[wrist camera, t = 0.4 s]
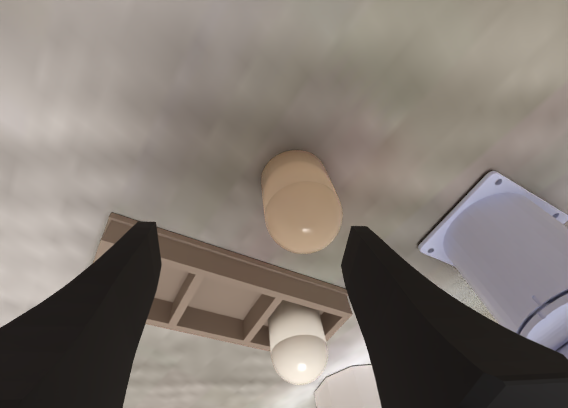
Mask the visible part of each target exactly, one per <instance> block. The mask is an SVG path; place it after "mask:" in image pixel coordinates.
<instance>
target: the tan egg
mask: <svg viewBox="0 0 568 408" xmlns="http://www.w3.org/2000/svg"><path fill="white" fill-rule="evenodd" d="M261 187H262V197H263V206H264V216H265V223H266V227H267V230H268V232H269V234H270V235H271V237H272V238H273V240H274V241H275V242H276V243H277V244H278V245H280V246H281V247H282V248H284V249H286V250H288V251H290V252H293V253H298V254H309V253H314V252H317V251H320V250H322V249H323V248H325V247H326V246H328V245H329V244H330V243H331V242H332V241H333V240H334V239H335V237H336V236H337V234H338V232H339V230H340V227H341V224H342V216H343V213H342V206H341V203H340V200H339V198H338V196H337V193H336V191H335V189H334V187H333V185H332V183H331V180H330V178H329V176H328V174H327V172H326V170H325V167H324V165H323V163H322V162H321V161H320V160H319V159H318V158H317V157H316V156H315V155H313V154H311V153H309V152H307V151H303V150H290V151H285V152H283V153H280V154H278V155H276V156H275V157H274V158H272V159H271V160H270V161H269V162H268V163H267V165H266V166H265V168H264V170H263V172H262V176H261Z"/></svg>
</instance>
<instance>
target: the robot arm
mask: <svg viewBox="0 0 568 408" xmlns="http://www.w3.org/2000/svg"><path fill="white" fill-rule="evenodd" d="M497 180H498V181H497ZM567 221H568V215H567V214H565V213H564V212H562V211H561V210H559V209H557V208H556V207H554V206H552V205H551V204H549V203H547V202H546V201H544V200H543V199H541V198H539V197H538V196H536V195H534V194H533V193H531V192H529V191H528V190H526V189H524V188H523V187H521V186H520V185H518V184H516V183H515V182H513V181H511V180H510V179H508V178H506V177H505V176H503V175H502V174H500V173H498V172H497V171H491V172H489V173H487V174H486V175H485V176H484V177H483V178H482V179H481V180H480V182H479V183H478V184H477V185H476V186H475V187H474V188H473V189H472V190H471V191H470V192H469V193H468V194H467V195H466V196H465V197H464V198H463V199H462V200H461V201H460V202H459V204H458V205H457V206H456V207H455V208H454V209H453V210H452V211H451V212H450V213H449V214H448V215H447V216H446V217H445V218H444V219H443V220H442V221H441V222H440V223H439V224H438V226H437V227H436V228H435V229H434V230H433V231H432V232H431V233H430V234H429V235H428V236H427V237H426V238H425V239H424V240H423V241H422V242H421V243H420V245H419V246H418V248H419V250H420V252H422V253H424V254H426V255H428V256H431V257H433V258H436V259H438V260H440V261H443V262H445V263H448V264H450V265H452V266H455V267H456V268H457V270H458V271H459V272H460V274H461V275H462V276H463V278H464V279H465V280H466V282H467V283H468V284H469V285H470V287H471V288H472V289H473V291H474V292H475V293H476V295H477V296H478V297H479V299H480V300H481V301H482V302H483V304H484V305H485V306H486V308H487V309H488V310H489V312H490V313H491V314H492V316H493V317H494V318H495V319H496V321H497V322H498V323H499V324H498V323H496V322H494V321H492V320H490V319H488V318H487V317H485V316H483V315H481V314H480V313H478V312H476V311H475V310H473V309H471V308H470V307H468V306H466V305H465V304H463V303H461V302H460V301H458V300H457V299H455V298H454V297H452V296H451V295H449V294H448V293H446V292H445V291H443V290H442V289H441V288H439V287H438V286H436V285H435V284H434V283H432V282H431V281H430V280H428V279H427V278H426V277H424V276H423V275H422V274H421V273H419V272H418V271H417V270H416V269H414V268H413V267H412V266H411V265H410V264H408V263H407V262H406V261H405V260H404V259H403V258H401V257H400V256H399V255H398V254H397V253H396V252H395V251H394V250H392V249H391V248H390V247H389V246H388V245H387V244H386V243H385V242H384V241H383V240H382V239H380V238H379V237H378V236H377V235H376V234H375V233H374V232H373V231H372V230H370V229H369V228H368V227H367V226H351V230H350V234H349V237H348V241H347V245H346V249H345V252H344V256H343V260H342V264H341V268H342V273H343V278H344V282H345V286H346V290H347V293H348V296H349V299H350V302H351V304H352V307H353V310H354V313H355V315H356V318H357V321H358V324H359V326H360V329H361V332H362V335H363V337H364V340H365V343H366V346H367V349H368V353H369V357H370V361H371V364H372V368H373V372H374V376H375V381H376V385H377V389H378V394H379V398H380V403H381V407H382V408H568V228H567V227H566V226H565V225H563V224H564V223H566V222H567ZM161 266H162V262H161V255H160V248H159V241H158V233H157V226H156V222H137V223H136V224H135V225H134V226H133V227H132V228H130V229H129V230H128V231H127V232H126V233H125V234H124V235H123V236H122V237H121V238H120V239H119V240H118V241H117V242H116V243H115V244H114V245H113V246H112V247H111V248H109V249H108V250H107V251H106V252H105V253H104V254H103V255H102V256H101V257H100V258H98V259H97V260H96V261H95V262H94V263H93V264H92V265H90V266H89V267H88V268H87V269H86V270H84V271H83V272H82V273H81V274H80V275H78V276H77V277H76V278H75V279H73V280H72V281H71V282H70V283H68V284H67V285H66V286H64V287H63V288H62V289H60V290H59V291H57V292H56V293H54V294H53V295H52V296H50V297H49V298H47V299H46V300H44V301H43V302H41V303H40V304H38V305H37V306H35V307H34V308H32V309H30V310H29V311H27V312H25V313H24V314H22V315H21V316H19V317H17V318H16V319H14V320H12V321H11V322H9V323H8V324H6V325H4V326H3V327H1V328H0V408H123V403H124V399H125V394H126V389H127V385H128V381H129V377H130V372H131V368H132V364H133V360H134V357H135V353H136V350H137V347H138V344H139V341H140V338H141V335H142V332H143V329H144V326H145V323H146V320H147V318H148V315H149V312H150V309H151V306H152V303H153V300H154V297H155V294H156V291H157V286H158V282H159V277H160V272H161Z"/></svg>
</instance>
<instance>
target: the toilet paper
mask: <svg viewBox="0 0 568 408" xmlns="http://www.w3.org/2000/svg"><path fill="white" fill-rule="evenodd" d="M314 394H315V400H316V405H317V408H382V407H381V403H380V398H379V394H378V389H377V385H376V381H375V376H374V372H373V368H372V365H364V366H352V367H349V368H347V369H345V370H343V371H340V372H338V373H336V374H333V375H331V376H329V377H327V378H326V379H325V380H324V381H323V382H322V384H321V385H320V386H319V387H318V389H317V390H316V391H315V392H314Z"/></svg>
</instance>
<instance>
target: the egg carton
mask: <svg viewBox="0 0 568 408" xmlns="http://www.w3.org/2000/svg"><path fill="white" fill-rule="evenodd" d="M137 222H139V221H136V220H133V219H130V218H127V217H124V216H121V215H118V214H115V213H111V214H110V216H109V219H108V222H107V225H106V227H105V230H104V233H103V236H102V238H101V241H100V244H99V246H98V249H97V252H96V255H95V258H94V261H93V263H94V262H95V261H96V260H97V259H98V258H100V257H101V256H102V255H103V254H104V253H105V252H106V251H107V250H108V249H109V248H111V247H112V246H113V245H114V244H115V243H116V242H117V241H118V240H119V239H120V238H121V237H122V236H123V235H124V234H125V233H126V232H127V231H128V230H129V229H130V228H132V227H133V226H134V225H135V224H136V223H137ZM157 233H158V241H159V248H160V255H161V262H162V266H161V272H160V277H159V282H158V286H157V291H156V294H155V297H154V300H153V303H152V306H151V309H150V312H149V315H148V318H147V320H146V323H145V324H148V325H153V326H157V327H162V328H166V329H171V330H176V331H180V332H185V333H189V334H194V335H198V336H203V337H207V338H212V339H216V340H221V341H225V342H230V343H234V344H239V345H243V346H248V347H252V348H257V349H262V350H266V351H270V339H269V326H268V318H269V317H270V316H271V314H272V313H273V312H274V310H275V309H276V308H277V306H278V305H279V304H280V303H281V301H282V300H285V301H289V302H292V303H295V304H299V305H302V306H306V307H309V308H313V309H316V310H319V314H320V318H321V322H322V326H323V331H324V335H325V339H326V342H327V341H328V340H329V339H330V337H331V336H332V335H333V334H334V333H335V332H336V331H337V330H338V329H339V328H340V327H341V326H342V325H343V324H344V323H345V322H346V321H347V320H348V319H349V318H350V317H351V315H352V311H351V308H350V305H349V302H348V299H347V296H348V293H347V290H346V289H344V288H341V287H338V286H335V285H332V284H329V283H326V282H323V281H320V280H317V279H313V278H310V277H307V276H304V275H301V274H298V273H295V272H292V271H289V270H286V269H283V268H280V267H277V266H274V265H271V264H268V263H265V262H262V261H258V260H255V259H252V258H249V257H246V256H243V255H240V254H237V253H234V252H231V251H228V250H225V249H222V248H219V247H216V246H213V245H210V244H207V243H203V242H200V241H197V240H194V239H191V238H188V237H185V236H182V235H179V234H176V233H173V232H170V231H167V230H164V229H161V228H158V227H157Z"/></svg>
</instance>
